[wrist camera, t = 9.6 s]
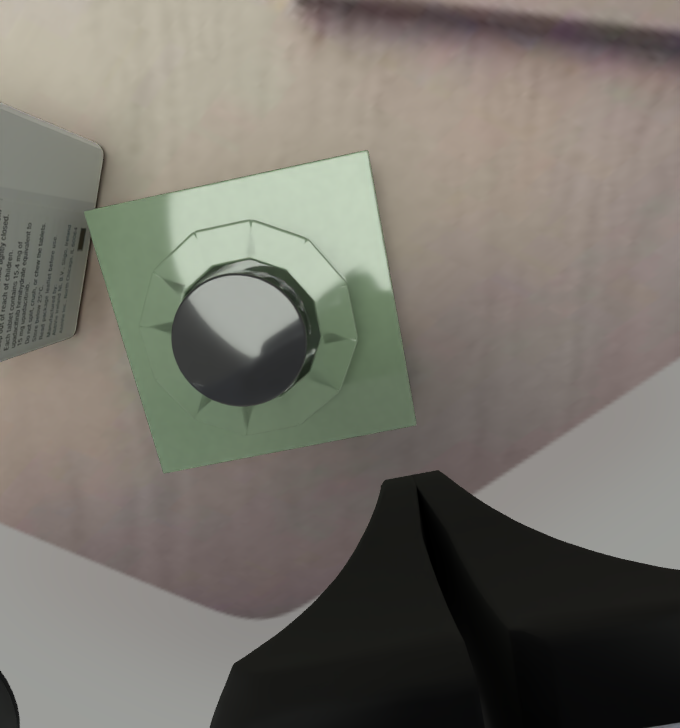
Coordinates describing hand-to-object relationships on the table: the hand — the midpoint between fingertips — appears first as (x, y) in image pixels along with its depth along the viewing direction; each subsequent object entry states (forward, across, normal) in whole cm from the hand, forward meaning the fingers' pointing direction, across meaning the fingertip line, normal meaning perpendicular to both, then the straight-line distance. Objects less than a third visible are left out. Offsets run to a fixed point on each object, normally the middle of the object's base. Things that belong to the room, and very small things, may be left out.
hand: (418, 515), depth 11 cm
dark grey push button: (+6, +4, -4) cm, 8 cm away
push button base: (+10, +4, -4) cm, 12 cm away
